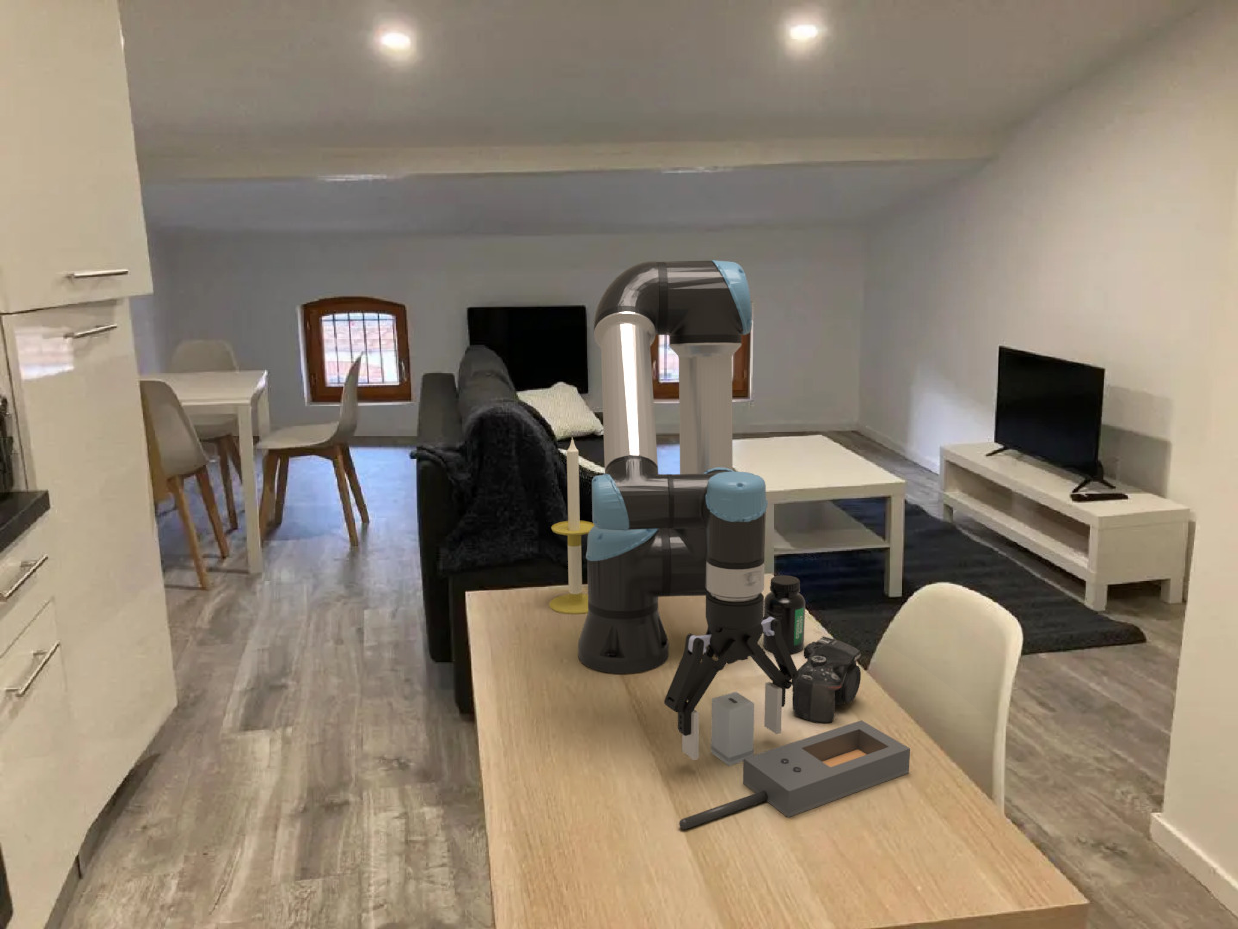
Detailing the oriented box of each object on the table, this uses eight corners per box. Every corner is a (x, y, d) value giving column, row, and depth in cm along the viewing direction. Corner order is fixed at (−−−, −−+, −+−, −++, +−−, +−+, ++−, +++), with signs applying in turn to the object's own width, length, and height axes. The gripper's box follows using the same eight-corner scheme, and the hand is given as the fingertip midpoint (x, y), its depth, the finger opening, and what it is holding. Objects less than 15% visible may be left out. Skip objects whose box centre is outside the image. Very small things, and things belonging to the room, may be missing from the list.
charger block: (710, 752, 137) (711, 698, 135) (735, 745, 139) (736, 691, 137) (728, 766, 133) (729, 710, 131) (753, 758, 135) (754, 702, 133)
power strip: (701, 849, 115) (701, 821, 115) (659, 811, 123) (659, 784, 122) (908, 773, 131) (910, 747, 130) (860, 743, 139) (861, 719, 138)
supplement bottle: (809, 653, 168) (811, 585, 166) (769, 656, 167) (771, 588, 165) (796, 637, 175) (798, 572, 172) (758, 640, 174) (759, 574, 171)
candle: (612, 603, 192) (611, 436, 184) (575, 618, 185) (571, 445, 177) (576, 591, 198) (573, 429, 191) (538, 605, 191) (533, 437, 184)
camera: (860, 728, 143) (863, 663, 141) (789, 722, 145) (791, 657, 143) (859, 687, 156) (861, 627, 154) (793, 682, 158) (795, 622, 156)
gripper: (669, 619, 122) (669, 779, 126) (827, 583, 134) (822, 730, 138) (637, 601, 128) (638, 753, 132) (791, 568, 140) (787, 709, 145)
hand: (732, 742), depth 135 cm, fingers open, 13 cm apart
